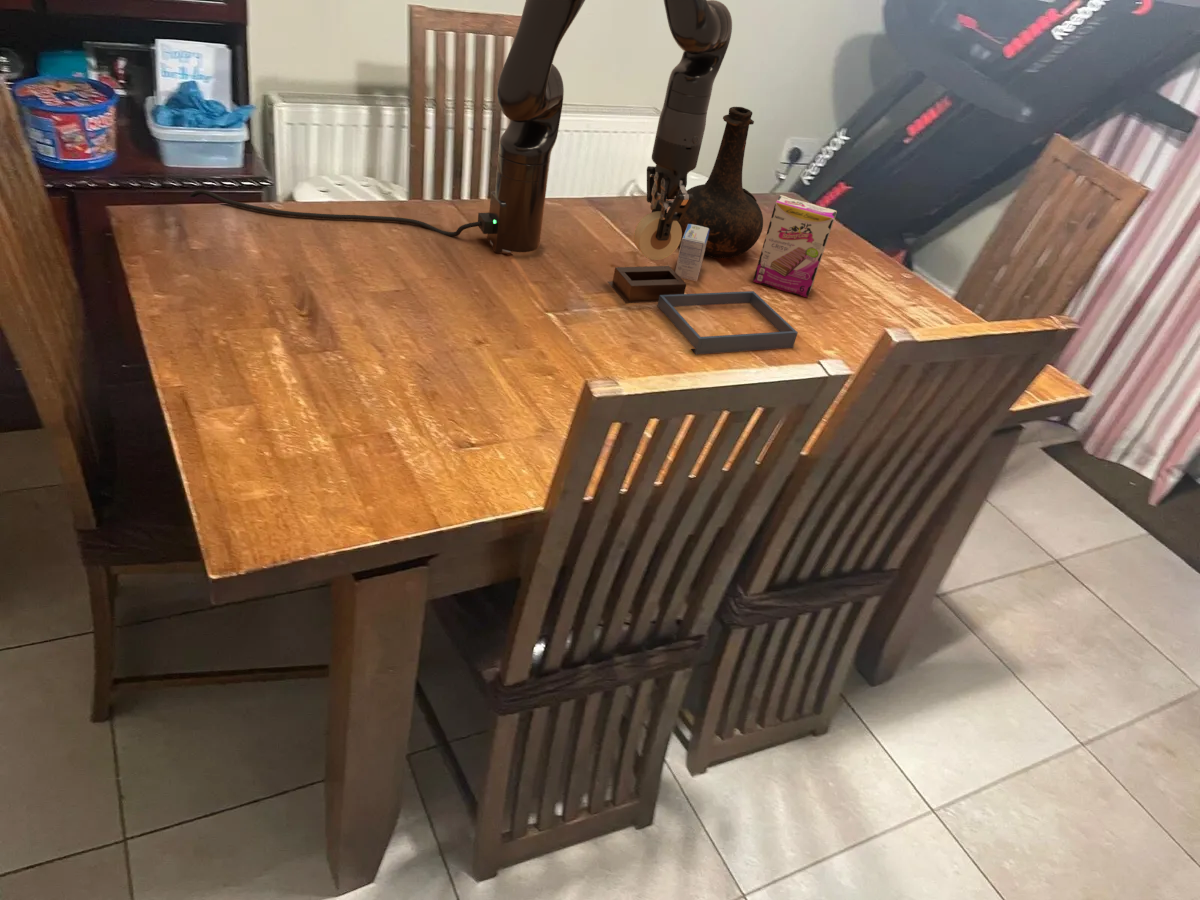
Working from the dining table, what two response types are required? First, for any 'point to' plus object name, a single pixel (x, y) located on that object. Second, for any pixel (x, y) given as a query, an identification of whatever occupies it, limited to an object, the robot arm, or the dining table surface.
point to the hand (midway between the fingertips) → (658, 235)
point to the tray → (728, 341)
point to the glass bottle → (727, 195)
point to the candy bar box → (794, 245)
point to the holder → (646, 283)
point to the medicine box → (692, 252)
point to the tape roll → (647, 237)
